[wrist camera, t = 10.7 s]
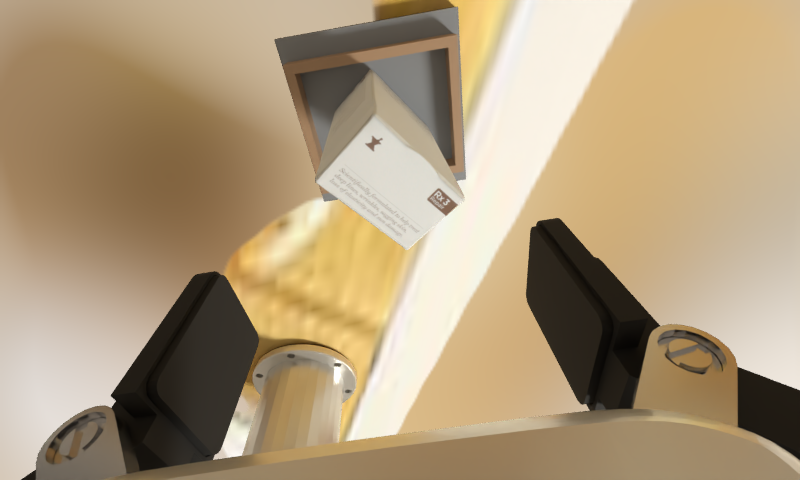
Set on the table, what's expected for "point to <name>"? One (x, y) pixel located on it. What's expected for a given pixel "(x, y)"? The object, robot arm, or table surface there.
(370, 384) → the table surface
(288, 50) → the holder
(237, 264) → the table surface
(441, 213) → the skincare box
